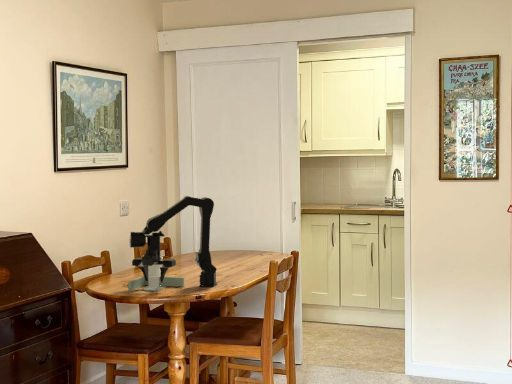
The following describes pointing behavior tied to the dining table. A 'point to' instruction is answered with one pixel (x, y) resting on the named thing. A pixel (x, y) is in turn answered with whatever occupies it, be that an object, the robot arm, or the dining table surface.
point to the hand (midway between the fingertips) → (154, 281)
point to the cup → (154, 270)
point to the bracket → (153, 283)
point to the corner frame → (166, 282)
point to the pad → (155, 290)
